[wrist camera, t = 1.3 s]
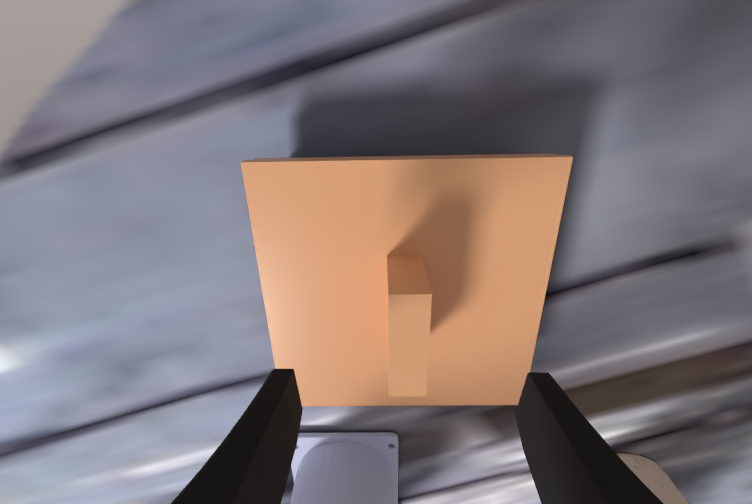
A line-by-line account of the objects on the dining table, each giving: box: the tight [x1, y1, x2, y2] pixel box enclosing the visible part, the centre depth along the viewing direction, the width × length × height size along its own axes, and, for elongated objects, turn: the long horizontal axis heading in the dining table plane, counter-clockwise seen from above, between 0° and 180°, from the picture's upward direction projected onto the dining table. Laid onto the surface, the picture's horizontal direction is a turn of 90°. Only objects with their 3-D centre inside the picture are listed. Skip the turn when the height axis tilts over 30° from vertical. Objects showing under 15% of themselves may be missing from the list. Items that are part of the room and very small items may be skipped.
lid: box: [241, 153, 573, 406], centre depth 17 cm, size 14×14×5 cm
